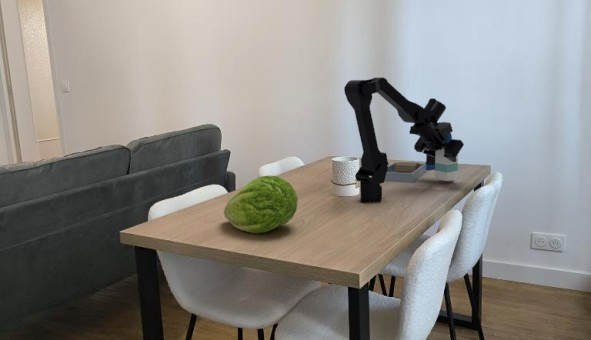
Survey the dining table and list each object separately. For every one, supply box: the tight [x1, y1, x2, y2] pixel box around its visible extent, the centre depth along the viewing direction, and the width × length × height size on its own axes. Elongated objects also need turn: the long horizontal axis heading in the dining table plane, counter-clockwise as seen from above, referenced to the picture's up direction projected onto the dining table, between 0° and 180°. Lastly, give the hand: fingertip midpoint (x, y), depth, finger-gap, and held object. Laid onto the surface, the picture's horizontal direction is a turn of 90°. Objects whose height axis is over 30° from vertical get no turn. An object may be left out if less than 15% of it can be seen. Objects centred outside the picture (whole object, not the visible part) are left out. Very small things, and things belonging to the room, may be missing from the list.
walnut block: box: [395, 161, 420, 173], centre depth 201 cm, size 6×8×4 cm
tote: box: [384, 161, 427, 184], centre depth 197 cm, size 20×13×4 cm, turn 151°
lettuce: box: [223, 175, 299, 234], centre depth 142 cm, size 15×25×16 cm
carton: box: [434, 149, 459, 182], centre depth 182 cm, size 6×6×12 cm
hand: (449, 160), depth 183 cm, fingers closed on carton, 5 cm apart
